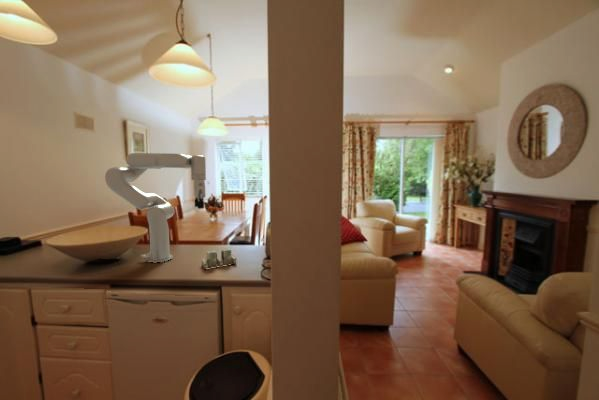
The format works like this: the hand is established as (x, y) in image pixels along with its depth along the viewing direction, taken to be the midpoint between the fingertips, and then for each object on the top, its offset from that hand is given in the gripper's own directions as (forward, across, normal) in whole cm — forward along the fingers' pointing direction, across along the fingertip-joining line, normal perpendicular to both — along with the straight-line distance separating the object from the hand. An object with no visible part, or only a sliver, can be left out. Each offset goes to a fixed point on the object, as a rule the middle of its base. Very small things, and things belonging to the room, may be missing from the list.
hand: (199, 207), depth 140 cm
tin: (+31, +25, +45) cm, 60 cm away
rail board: (+30, -16, -7) cm, 35 cm away
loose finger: (+29, -16, -3) cm, 33 cm away
